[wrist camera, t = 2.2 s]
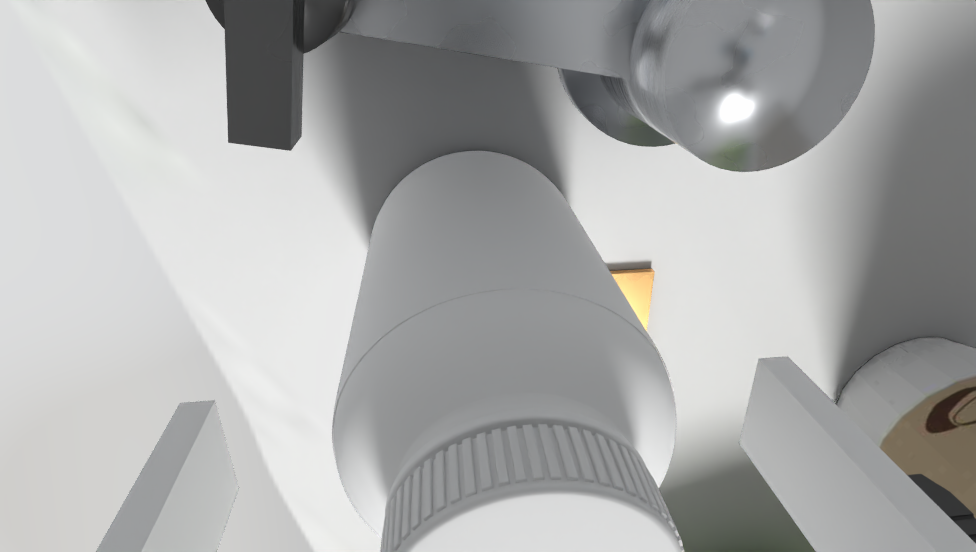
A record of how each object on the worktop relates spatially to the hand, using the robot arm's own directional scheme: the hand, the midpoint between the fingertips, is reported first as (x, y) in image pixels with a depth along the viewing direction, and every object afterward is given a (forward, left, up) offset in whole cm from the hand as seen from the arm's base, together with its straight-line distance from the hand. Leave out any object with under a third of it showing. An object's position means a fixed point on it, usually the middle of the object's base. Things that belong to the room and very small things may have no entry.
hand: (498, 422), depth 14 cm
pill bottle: (0, 0, -10) cm, 10 cm away
